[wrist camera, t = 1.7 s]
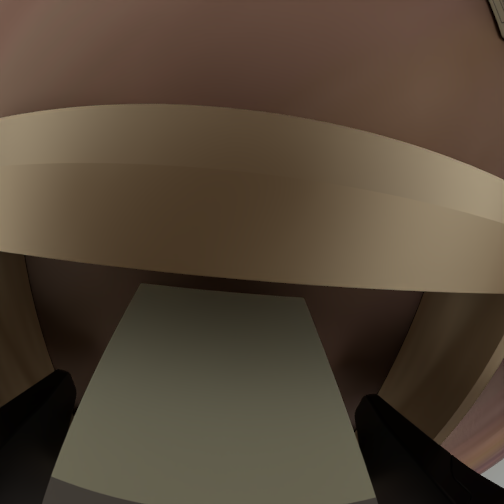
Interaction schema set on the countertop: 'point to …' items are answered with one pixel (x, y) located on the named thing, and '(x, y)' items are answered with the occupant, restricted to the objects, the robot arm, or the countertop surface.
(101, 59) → the countertop surface
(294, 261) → the wooden frame
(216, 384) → the sage box
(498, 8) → the skincare box
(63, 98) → the countertop surface
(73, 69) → the countertop surface
